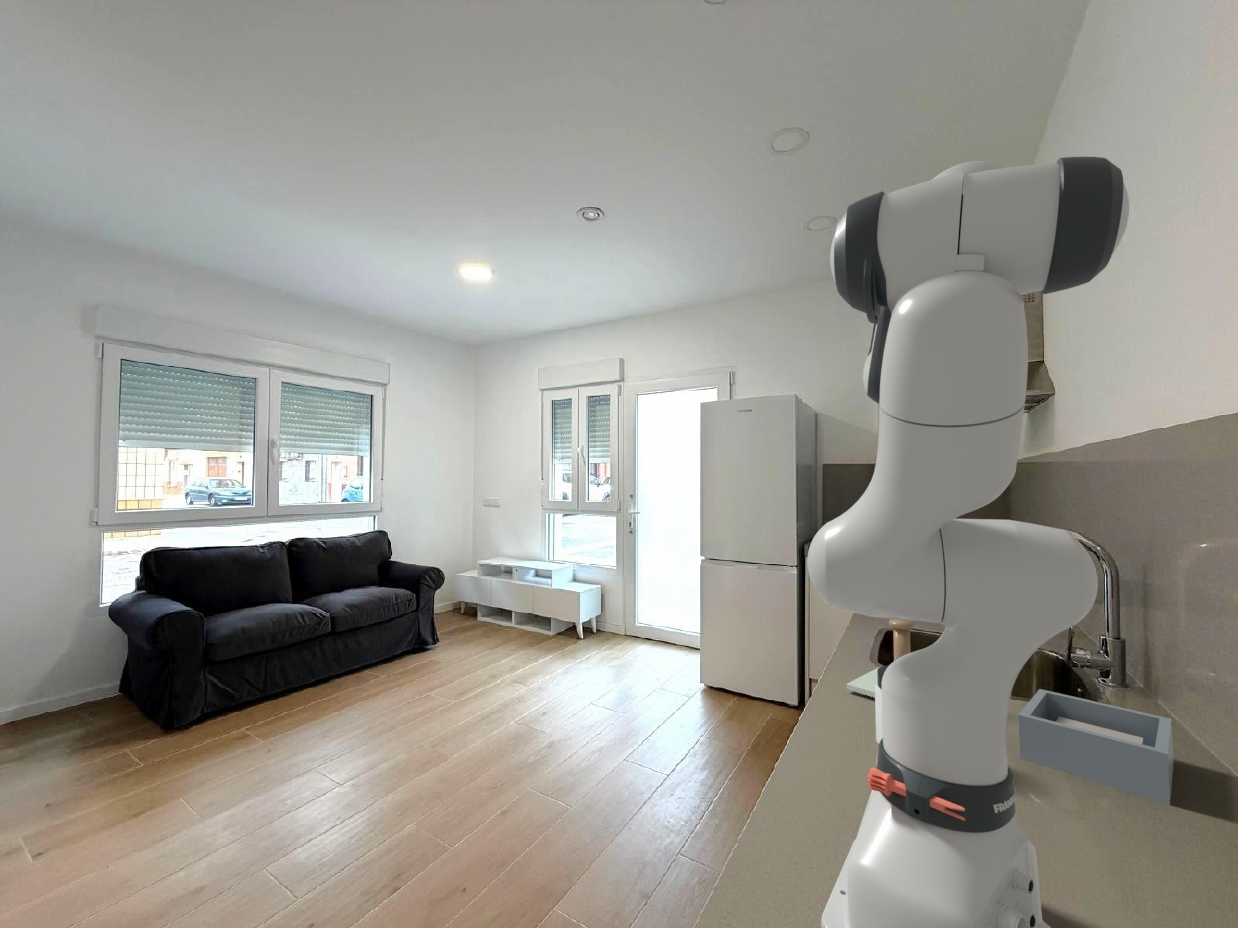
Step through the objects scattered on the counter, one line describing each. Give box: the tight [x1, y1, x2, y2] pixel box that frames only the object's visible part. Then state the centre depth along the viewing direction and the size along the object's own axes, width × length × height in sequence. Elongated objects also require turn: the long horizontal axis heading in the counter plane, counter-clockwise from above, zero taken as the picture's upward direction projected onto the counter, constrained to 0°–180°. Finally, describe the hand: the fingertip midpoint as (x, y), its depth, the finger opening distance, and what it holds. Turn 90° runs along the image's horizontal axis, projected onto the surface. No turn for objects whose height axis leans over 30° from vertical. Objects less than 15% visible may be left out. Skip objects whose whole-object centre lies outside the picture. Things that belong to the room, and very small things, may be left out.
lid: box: [845, 619, 914, 699], centre depth 106 cm, size 16×16×15 cm
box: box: [1018, 688, 1175, 806], centre depth 80 cm, size 16×16×7 cm
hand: (957, 507), depth 86 cm, fingers open, 8 cm apart
